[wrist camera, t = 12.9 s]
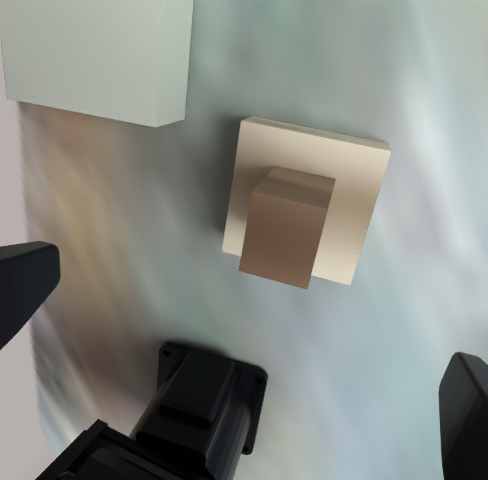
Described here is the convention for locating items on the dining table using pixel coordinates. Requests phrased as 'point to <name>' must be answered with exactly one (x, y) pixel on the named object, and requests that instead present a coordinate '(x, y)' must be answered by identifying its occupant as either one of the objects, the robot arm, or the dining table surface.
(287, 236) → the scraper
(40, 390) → the dining table surface
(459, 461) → the robot arm
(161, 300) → the dining table surface
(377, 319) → the dining table surface
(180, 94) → the deck
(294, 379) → the dining table surface
